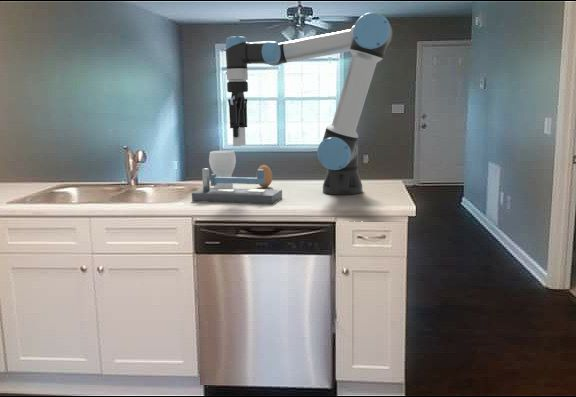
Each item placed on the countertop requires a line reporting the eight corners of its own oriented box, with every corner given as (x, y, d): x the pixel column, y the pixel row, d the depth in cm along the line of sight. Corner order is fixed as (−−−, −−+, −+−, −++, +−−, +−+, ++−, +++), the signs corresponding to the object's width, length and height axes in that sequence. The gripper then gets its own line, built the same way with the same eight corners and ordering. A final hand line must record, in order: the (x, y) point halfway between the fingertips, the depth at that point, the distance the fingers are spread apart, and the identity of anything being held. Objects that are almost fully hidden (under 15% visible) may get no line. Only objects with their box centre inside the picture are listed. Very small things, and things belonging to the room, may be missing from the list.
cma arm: (264, 186, 200) (264, 169, 199) (262, 187, 198) (261, 170, 196) (214, 184, 206) (213, 168, 204) (211, 185, 203) (210, 169, 202)
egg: (275, 186, 230) (275, 164, 228) (266, 189, 224) (266, 166, 223) (262, 185, 233) (261, 163, 232) (253, 187, 228) (252, 165, 226)
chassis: (282, 198, 204) (281, 167, 202) (272, 204, 193) (271, 172, 191) (205, 195, 212) (204, 166, 210) (192, 201, 201) (190, 170, 199)
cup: (232, 191, 220) (231, 153, 217) (206, 191, 222) (204, 153, 219) (240, 187, 230) (238, 150, 228) (215, 186, 232) (213, 150, 230)
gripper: (236, 81, 213) (238, 143, 217) (218, 80, 197) (221, 147, 201) (254, 81, 211) (256, 143, 215) (238, 80, 195) (240, 147, 199)
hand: (239, 145), depth 208 cm, fingers open, 4 cm apart
